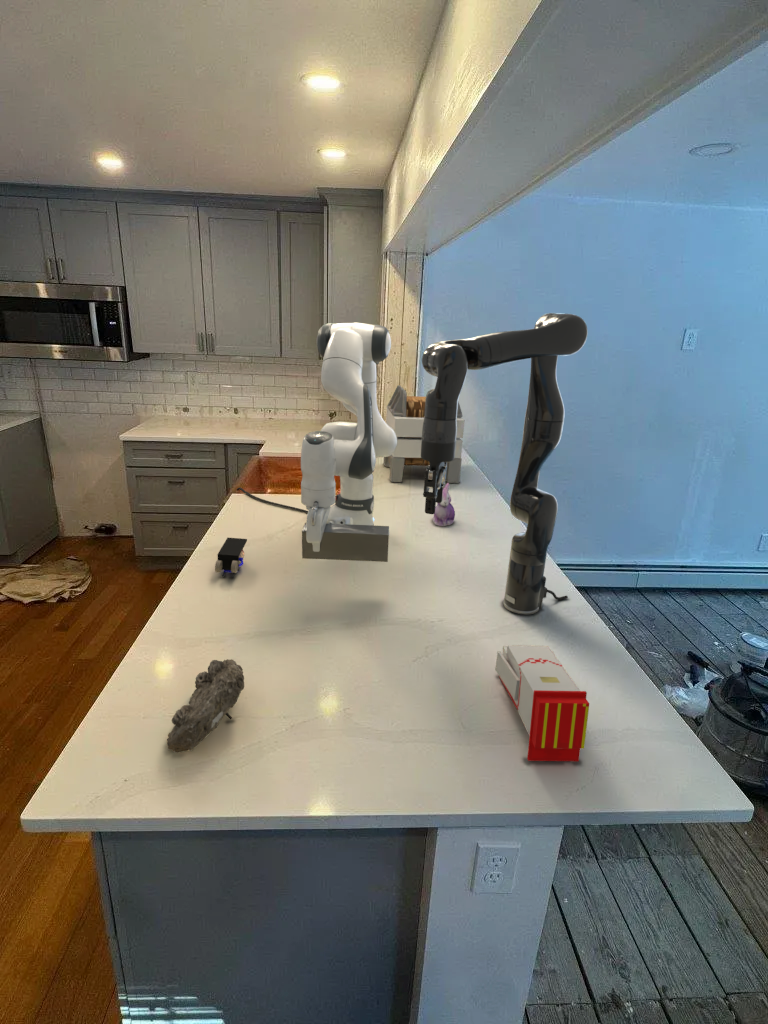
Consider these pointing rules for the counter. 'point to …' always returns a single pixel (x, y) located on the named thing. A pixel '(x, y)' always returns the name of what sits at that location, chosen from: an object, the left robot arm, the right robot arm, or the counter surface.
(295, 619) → the counter surface
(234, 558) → the figurine character
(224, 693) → the fossil
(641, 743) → the counter surface
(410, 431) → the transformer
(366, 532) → the bar
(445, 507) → the figurine
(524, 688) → the toy
